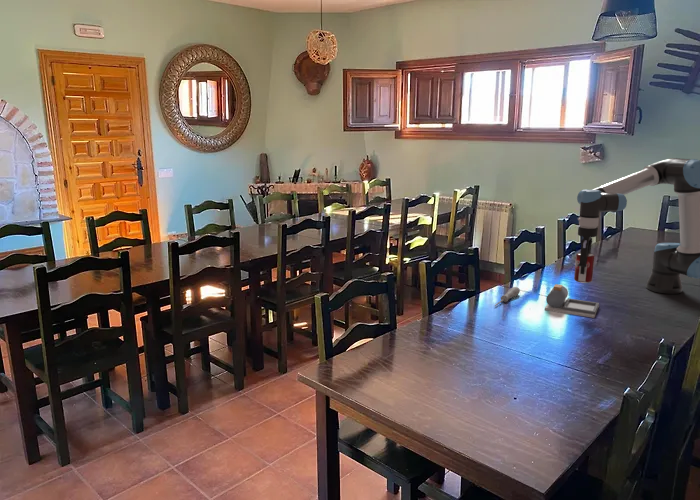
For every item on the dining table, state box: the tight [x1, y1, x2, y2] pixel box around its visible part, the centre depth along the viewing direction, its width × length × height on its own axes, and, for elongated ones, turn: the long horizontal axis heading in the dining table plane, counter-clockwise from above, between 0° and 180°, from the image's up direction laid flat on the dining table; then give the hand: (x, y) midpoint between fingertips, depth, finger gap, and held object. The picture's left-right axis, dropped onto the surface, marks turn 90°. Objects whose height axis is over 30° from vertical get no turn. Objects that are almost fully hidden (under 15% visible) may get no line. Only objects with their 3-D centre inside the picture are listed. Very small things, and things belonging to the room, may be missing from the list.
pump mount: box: [544, 283, 600, 319], centre depth 229 cm, size 20×16×9 cm
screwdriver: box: [494, 286, 521, 307], centre depth 241 cm, size 5×25×4 cm, turn 139°
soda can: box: [573, 251, 595, 284], centre depth 223 cm, size 7×7×12 cm
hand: (583, 278), depth 225 cm, fingers closed on soda can, 7 cm apart
